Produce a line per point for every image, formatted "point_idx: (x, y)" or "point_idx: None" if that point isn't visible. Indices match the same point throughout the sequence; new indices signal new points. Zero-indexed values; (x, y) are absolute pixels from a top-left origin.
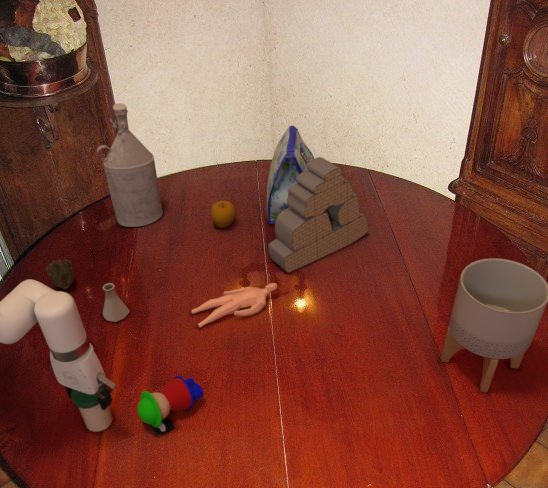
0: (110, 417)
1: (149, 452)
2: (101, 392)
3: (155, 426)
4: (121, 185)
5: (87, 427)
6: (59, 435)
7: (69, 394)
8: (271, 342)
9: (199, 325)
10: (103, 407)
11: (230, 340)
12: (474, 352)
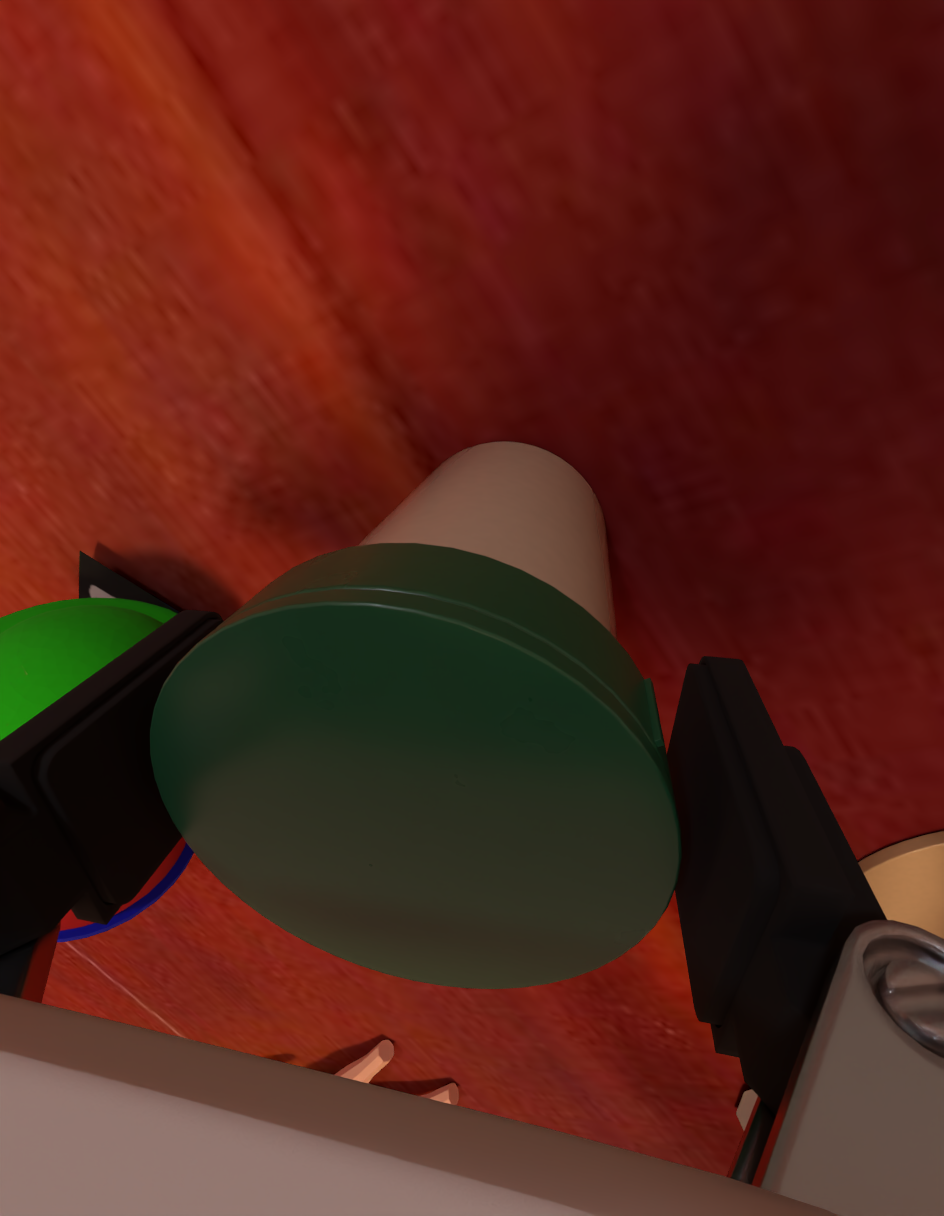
0: None
1: (50, 432)
2: (2, 889)
3: (88, 602)
4: None
5: (535, 452)
6: (769, 284)
7: (727, 719)
8: (131, 990)
9: (377, 1057)
10: (153, 640)
11: (247, 997)
12: None
